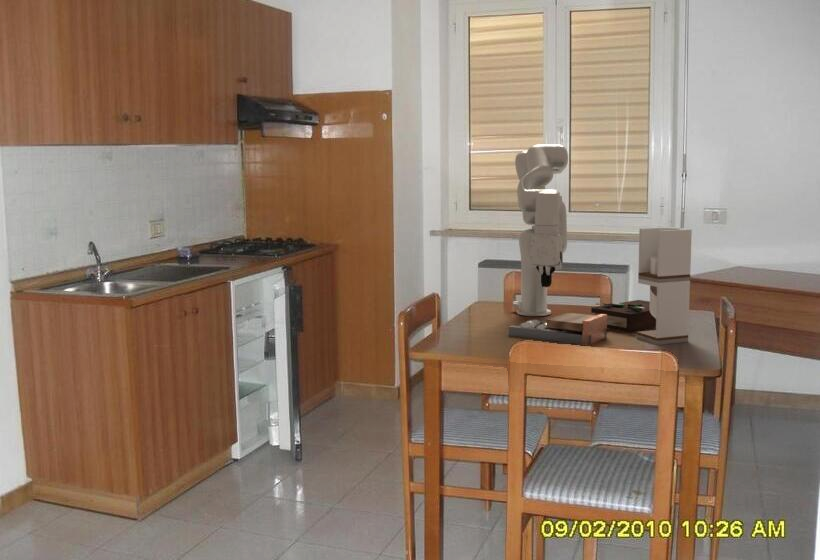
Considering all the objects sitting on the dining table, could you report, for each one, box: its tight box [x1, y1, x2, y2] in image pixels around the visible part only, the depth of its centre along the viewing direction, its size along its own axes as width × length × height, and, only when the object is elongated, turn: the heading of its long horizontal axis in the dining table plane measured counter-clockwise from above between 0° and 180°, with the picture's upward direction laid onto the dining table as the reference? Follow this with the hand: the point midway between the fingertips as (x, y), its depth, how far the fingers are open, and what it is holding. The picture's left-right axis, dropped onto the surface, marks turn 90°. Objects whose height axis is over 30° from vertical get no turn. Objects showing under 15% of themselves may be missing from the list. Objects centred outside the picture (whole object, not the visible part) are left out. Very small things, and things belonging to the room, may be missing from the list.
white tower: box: [636, 226, 693, 346], centre depth 267 cm, size 11×11×35 cm
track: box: [508, 314, 608, 346], centre depth 276 cm, size 28×14×8 cm, turn 54°
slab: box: [546, 312, 596, 331], centre depth 272 cm, size 12×15×2 cm
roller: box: [564, 329, 582, 334], centre depth 273 cm, size 4×8×4 cm, turn 144°
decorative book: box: [590, 299, 656, 334], centre depth 294 cm, size 19×8×30 cm
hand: (546, 286), depth 277 cm, fingers closed
